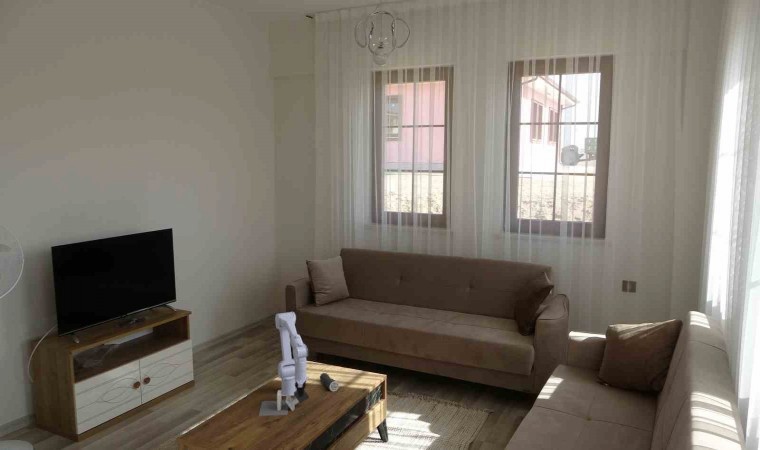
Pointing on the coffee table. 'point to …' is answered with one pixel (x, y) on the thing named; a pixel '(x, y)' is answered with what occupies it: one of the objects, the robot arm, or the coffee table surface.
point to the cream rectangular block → (279, 400)
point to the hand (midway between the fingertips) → (300, 395)
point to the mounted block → (292, 402)
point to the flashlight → (329, 382)
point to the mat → (273, 408)
